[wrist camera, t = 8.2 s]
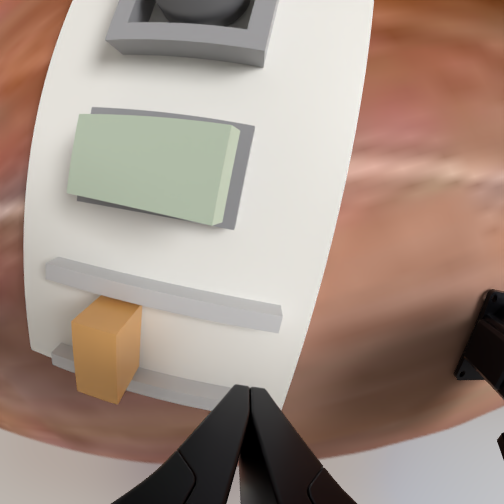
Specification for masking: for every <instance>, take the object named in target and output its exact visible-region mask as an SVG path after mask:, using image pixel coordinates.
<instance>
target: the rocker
mask: <svg viewBox="0 0 504 504" xmlns="http://www.w3.org/2000/svg"><path fill="white" fill-rule="evenodd" d="M239 135H240V130H239V129H237V128H236V127H234V126H232V125H228V124H221V123H213V122H205V121H196V120H186V119H176V118H165V117H152V116H136V115H114V114H79V118H78V122H77V127H76V133H75V138H74V144H73V150H72V156H71V162H70V169H69V177H68V185H67V193H69V194H73V195H78V196H83V197H87V198H92V199H96V200H101V201H105V202H110V203H114V204H119V205H123V206H128V207H132V208H137V209H141V210H146V211H150V212H154V213H159V214H163V215H168V216H172V217H176V218H181V219H185V220H189V221H194V222H198V223H202V224H207V225H211V226H213V225H216V224H219V223H222V221H223V216H224V211H225V205H226V200H227V195H228V190H229V185H230V180H231V175H232V169H233V164H234V160H235V155H236V150H237V145H238V140H239Z"/></svg>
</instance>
